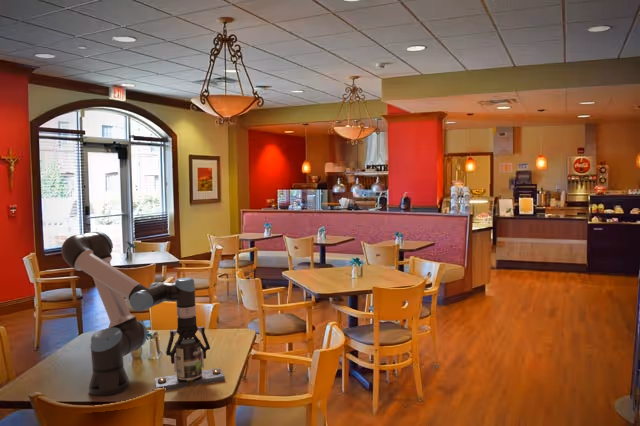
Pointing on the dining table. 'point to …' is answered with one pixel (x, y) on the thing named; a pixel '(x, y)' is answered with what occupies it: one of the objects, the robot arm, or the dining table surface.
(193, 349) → the coffee can
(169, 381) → the left end plate
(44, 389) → the dining table surface
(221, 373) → the right end plate
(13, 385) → the dining table surface
